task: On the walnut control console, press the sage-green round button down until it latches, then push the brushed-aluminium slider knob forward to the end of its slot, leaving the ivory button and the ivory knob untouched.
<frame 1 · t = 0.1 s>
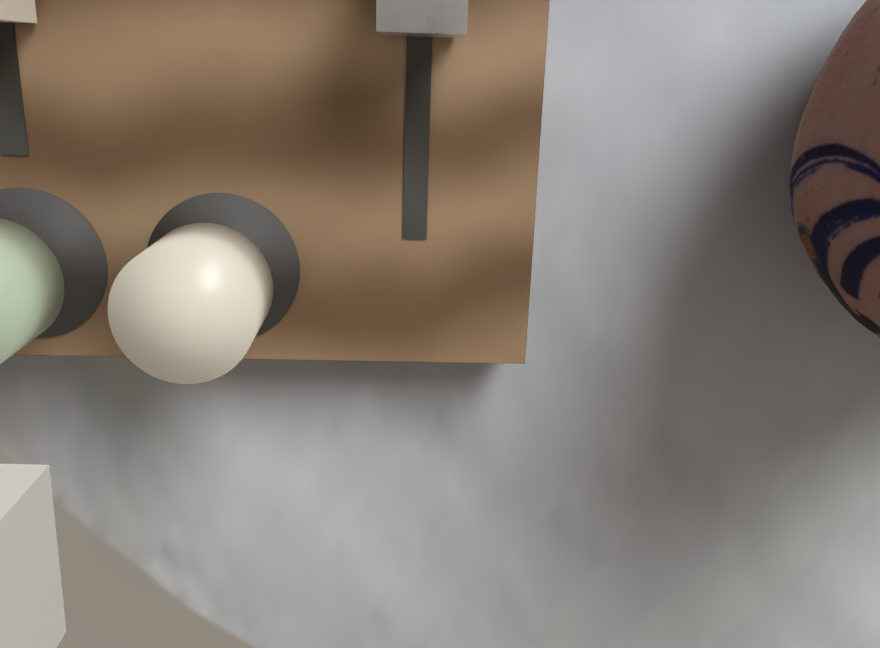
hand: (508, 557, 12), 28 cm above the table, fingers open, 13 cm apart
button ivory: (196, 300, 31), point 9 cm above the table, slide at 0.0 cm
console: (236, 127, 37), on the table
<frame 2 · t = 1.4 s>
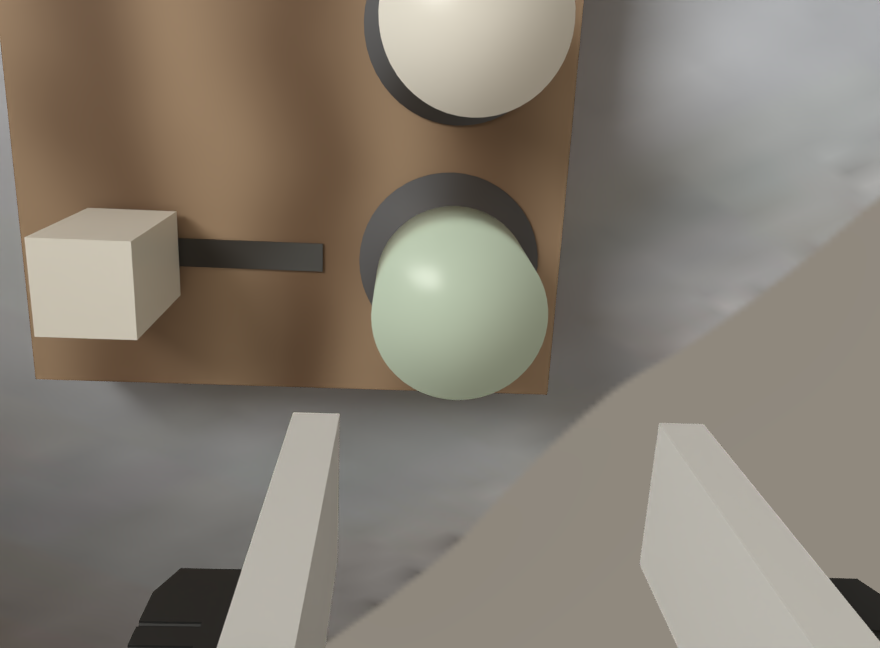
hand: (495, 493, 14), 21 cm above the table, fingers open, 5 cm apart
button ivory: (471, 19, 23), point 9 cm above the table, slide at 0.0 cm
slider ivory: (110, 269, 27), point 7 cm above the table, slide at 0.0 cm
console: (307, 22, 31), on the table
button sage: (456, 298, 25), point 9 cm above the table, slide at 0.0 cm
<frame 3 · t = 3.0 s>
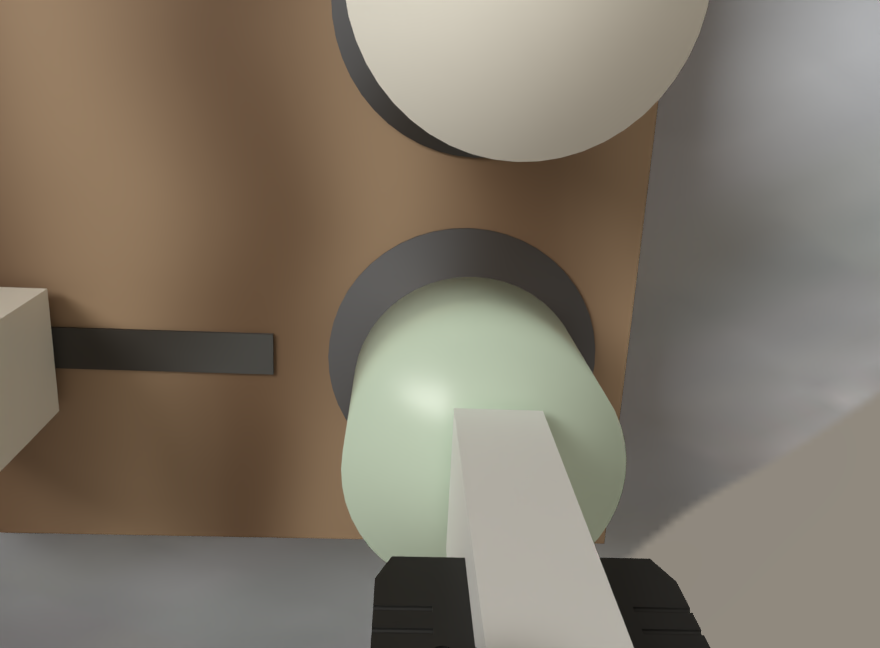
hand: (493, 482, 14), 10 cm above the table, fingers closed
console: (253, 2, 21), on the table
button sage: (475, 424, 17), point 8 cm above the table, slide at 1.0 cm, touching gripper
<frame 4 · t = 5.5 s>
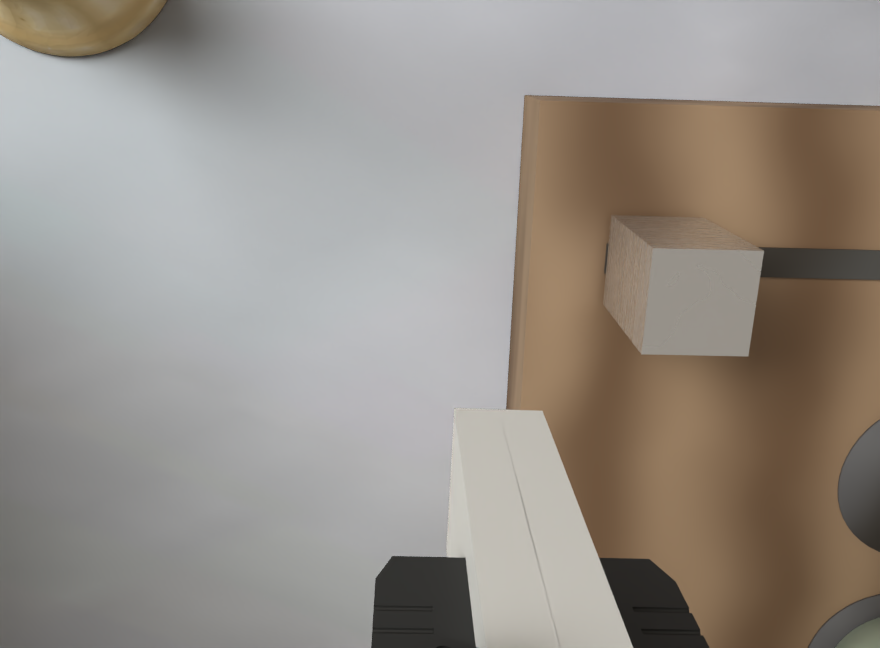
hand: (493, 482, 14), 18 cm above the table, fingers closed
slider aluminium: (674, 280, 25), point 7 cm above the table, slide at 0.0 cm
console: (736, 431, 34), on the table
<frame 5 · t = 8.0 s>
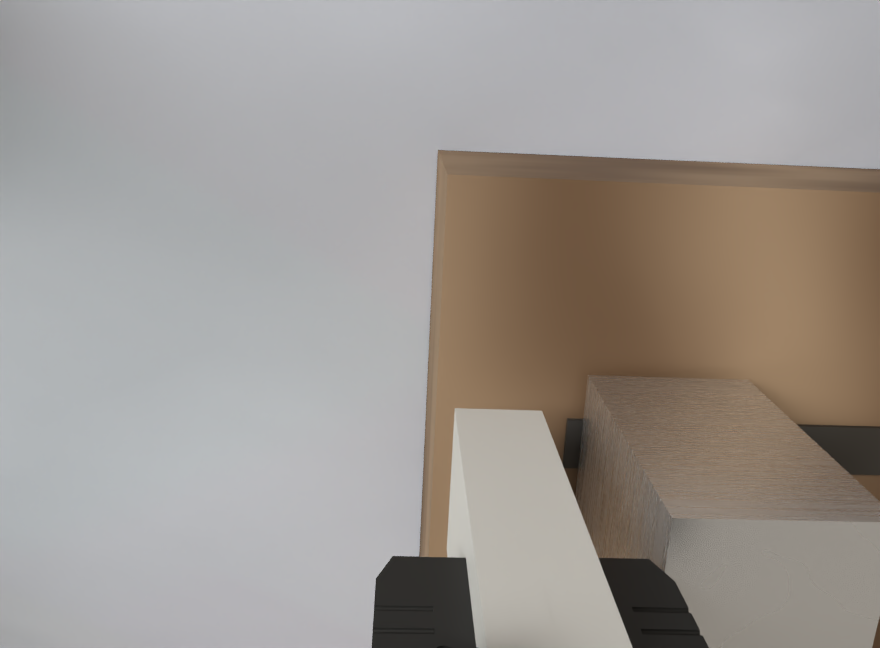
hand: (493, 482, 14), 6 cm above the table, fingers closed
slider aluminium: (703, 520, 13), point 7 cm above the table, slide at 0.3 cm, touching gripper
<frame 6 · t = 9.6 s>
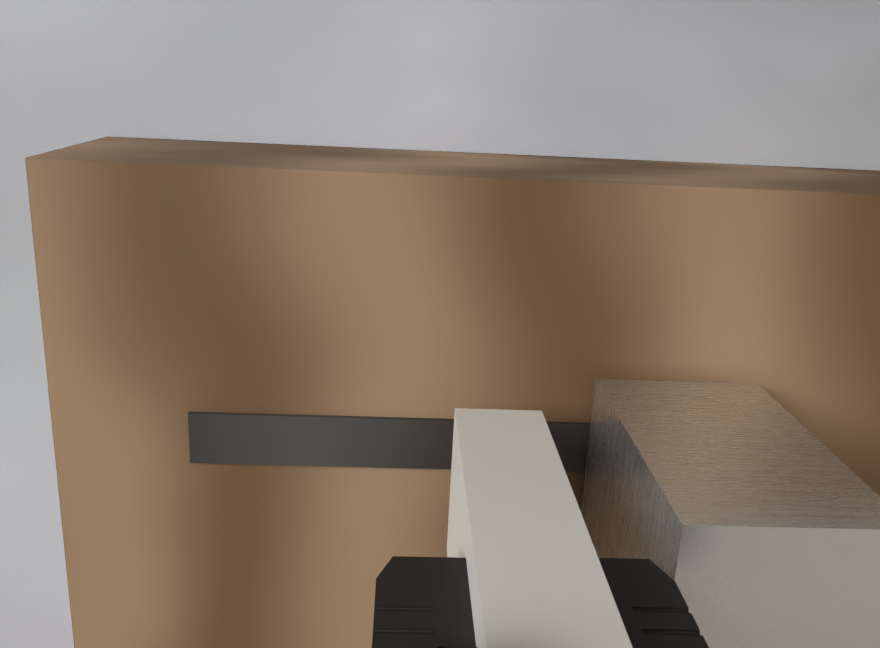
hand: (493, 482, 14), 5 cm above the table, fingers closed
slider aluminium: (713, 526, 13), point 7 cm above the table, slide at 7.4 cm, touching gripper
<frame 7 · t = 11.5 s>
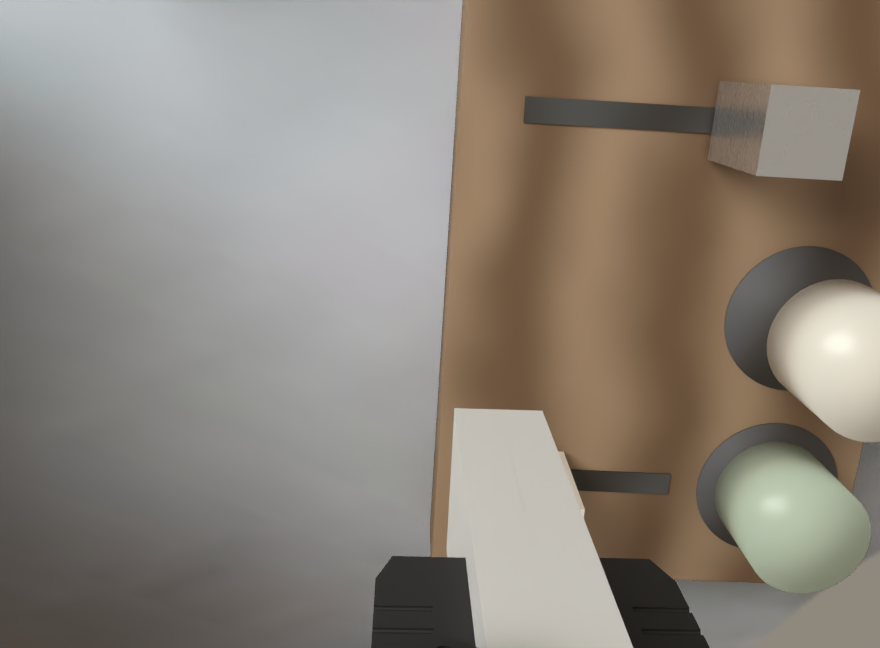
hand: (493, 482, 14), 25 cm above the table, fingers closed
button ivory: (855, 357, 31), point 9 cm above the table, slide at 0.0 cm
slider ivory: (534, 509, 35), point 7 cm above the table, slide at 0.0 cm
slider aluminium: (777, 127, 30), point 7 cm above the table, slide at 7.4 cm
console: (647, 288, 39), on the table
button sage: (788, 515, 36), point 6 cm above the table, slide at 2.4 cm
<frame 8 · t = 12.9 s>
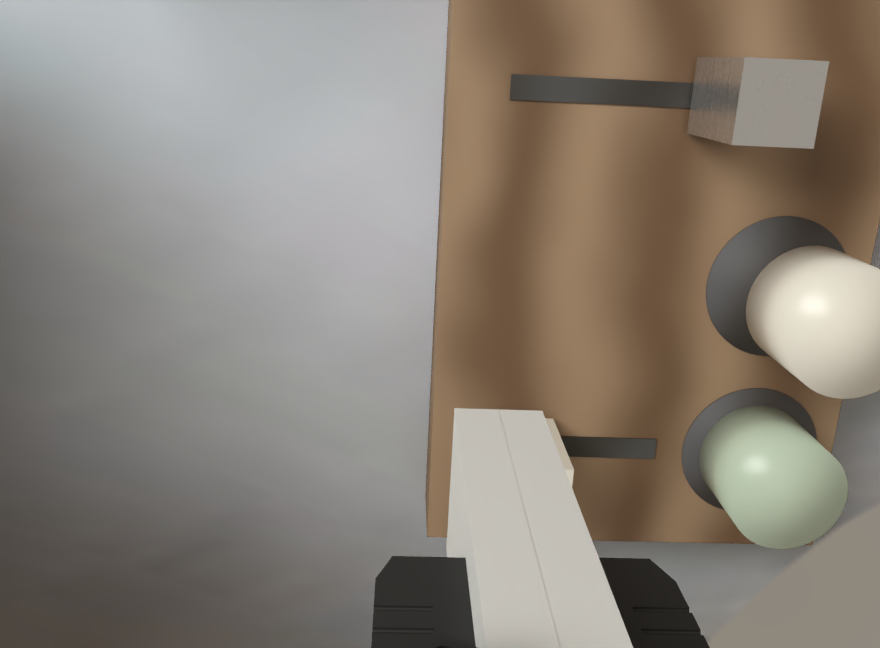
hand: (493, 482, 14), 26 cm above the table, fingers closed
button ivory: (829, 319, 32), point 9 cm above the table, slide at 0.0 cm
slider ivory: (525, 472, 36), point 7 cm above the table, slide at 0.0 cm
slider aluminium: (752, 100, 32), point 7 cm above the table, slide at 7.4 cm
console: (631, 261, 41), on the table
button sage: (769, 475, 37), point 6 cm above the table, slide at 2.4 cm
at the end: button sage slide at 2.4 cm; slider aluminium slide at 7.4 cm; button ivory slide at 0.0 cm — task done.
